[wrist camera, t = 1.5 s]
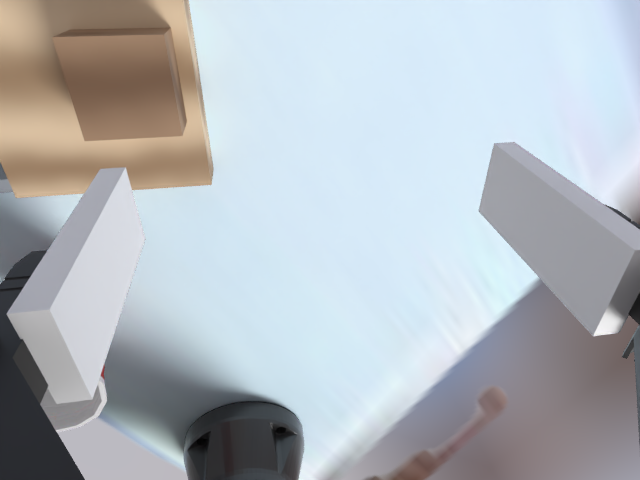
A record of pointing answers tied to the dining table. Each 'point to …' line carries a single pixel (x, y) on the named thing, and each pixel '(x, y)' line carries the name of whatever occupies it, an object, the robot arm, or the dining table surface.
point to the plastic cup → (75, 408)
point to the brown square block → (123, 82)
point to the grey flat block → (4, 182)
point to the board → (58, 111)
